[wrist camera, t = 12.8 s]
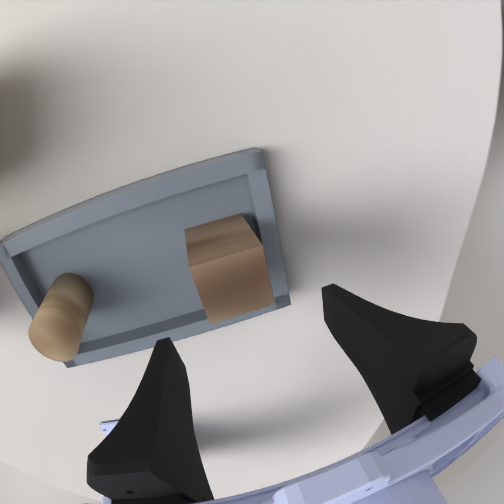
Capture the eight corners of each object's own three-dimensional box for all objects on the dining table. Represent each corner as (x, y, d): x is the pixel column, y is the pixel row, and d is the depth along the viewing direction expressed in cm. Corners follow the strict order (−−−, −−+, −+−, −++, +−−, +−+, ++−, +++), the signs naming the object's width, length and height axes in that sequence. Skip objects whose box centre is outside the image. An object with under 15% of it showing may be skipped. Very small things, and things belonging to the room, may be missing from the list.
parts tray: (282, 291, 25) (291, 304, 24) (71, 352, 23) (67, 367, 21) (253, 147, 20) (261, 150, 18) (4, 237, 17) (-7, 247, 15)
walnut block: (252, 262, 23) (274, 304, 18) (200, 278, 22) (210, 324, 17) (240, 212, 21) (262, 245, 16) (184, 229, 20) (189, 267, 15)
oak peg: (101, 307, 21) (88, 357, 16) (65, 316, 21) (47, 364, 16) (81, 268, 19) (59, 313, 14) (44, 280, 19) (19, 325, 14)
